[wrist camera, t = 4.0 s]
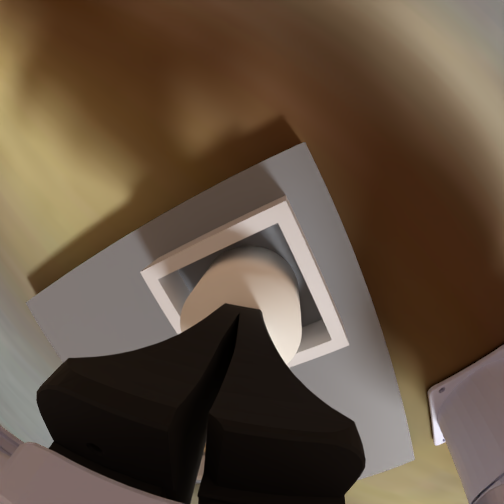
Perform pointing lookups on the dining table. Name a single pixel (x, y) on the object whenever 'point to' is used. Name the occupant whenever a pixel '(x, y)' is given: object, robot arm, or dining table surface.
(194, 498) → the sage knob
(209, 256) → the panel
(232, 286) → the ivory knob
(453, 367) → the dining table surface
